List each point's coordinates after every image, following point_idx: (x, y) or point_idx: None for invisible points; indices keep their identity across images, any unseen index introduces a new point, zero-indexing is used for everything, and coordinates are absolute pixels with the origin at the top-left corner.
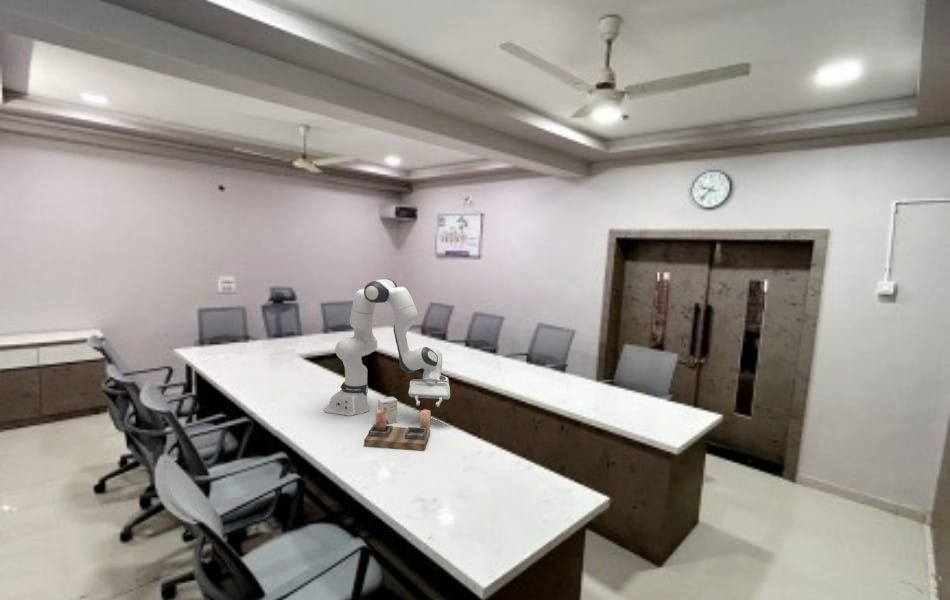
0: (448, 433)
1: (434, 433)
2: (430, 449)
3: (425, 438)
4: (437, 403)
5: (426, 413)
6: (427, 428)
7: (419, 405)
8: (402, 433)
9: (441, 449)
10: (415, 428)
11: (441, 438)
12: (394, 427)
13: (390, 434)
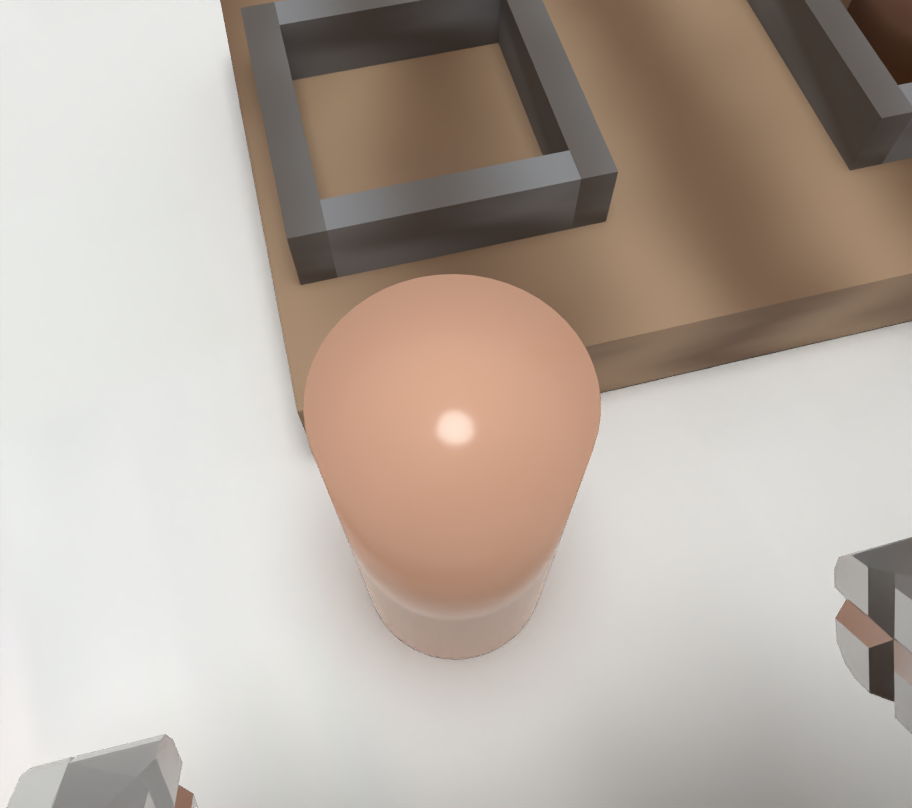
0: (17, 682)
1: (268, 574)
2: (178, 111)
3: (257, 108)
4: (82, 798)
5: (377, 300)
6: (286, 235)
7: (837, 636)
8: (639, 126)
9: (44, 152)
10: (484, 171)
11: (106, 438)
12: (887, 252)
13: (765, 51)
